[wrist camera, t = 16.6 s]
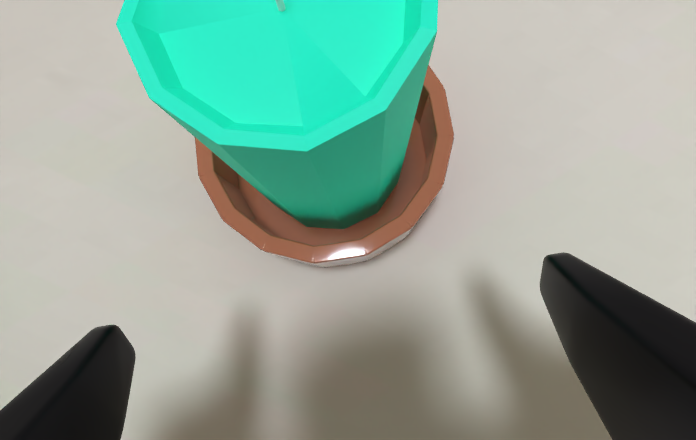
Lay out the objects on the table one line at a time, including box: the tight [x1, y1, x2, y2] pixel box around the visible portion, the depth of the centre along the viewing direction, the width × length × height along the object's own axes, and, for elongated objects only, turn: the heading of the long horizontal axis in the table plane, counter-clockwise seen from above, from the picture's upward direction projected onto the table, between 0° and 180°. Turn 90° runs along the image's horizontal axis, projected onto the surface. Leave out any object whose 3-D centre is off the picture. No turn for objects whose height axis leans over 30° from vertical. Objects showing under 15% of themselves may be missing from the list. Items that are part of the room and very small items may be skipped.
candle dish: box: [195, 65, 454, 267], centre depth 17 cm, size 9×9×4 cm
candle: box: [116, 0, 438, 229], centre depth 12 cm, size 6×6×12 cm
